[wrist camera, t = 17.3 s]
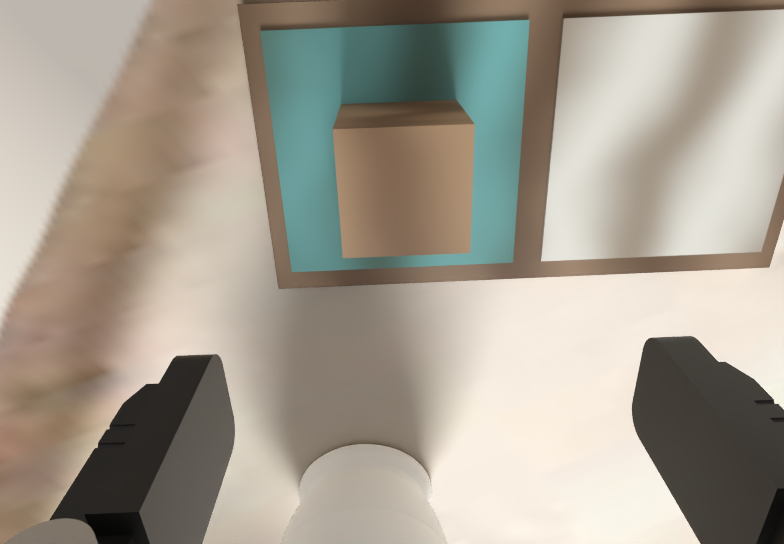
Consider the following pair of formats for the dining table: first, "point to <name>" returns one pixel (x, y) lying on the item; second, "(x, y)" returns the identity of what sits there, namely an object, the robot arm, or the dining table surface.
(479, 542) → the dining table surface
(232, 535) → the dining table surface
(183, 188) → the dining table surface
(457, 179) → the walnut block
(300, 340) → the dining table surface
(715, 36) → the board
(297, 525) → the jar
